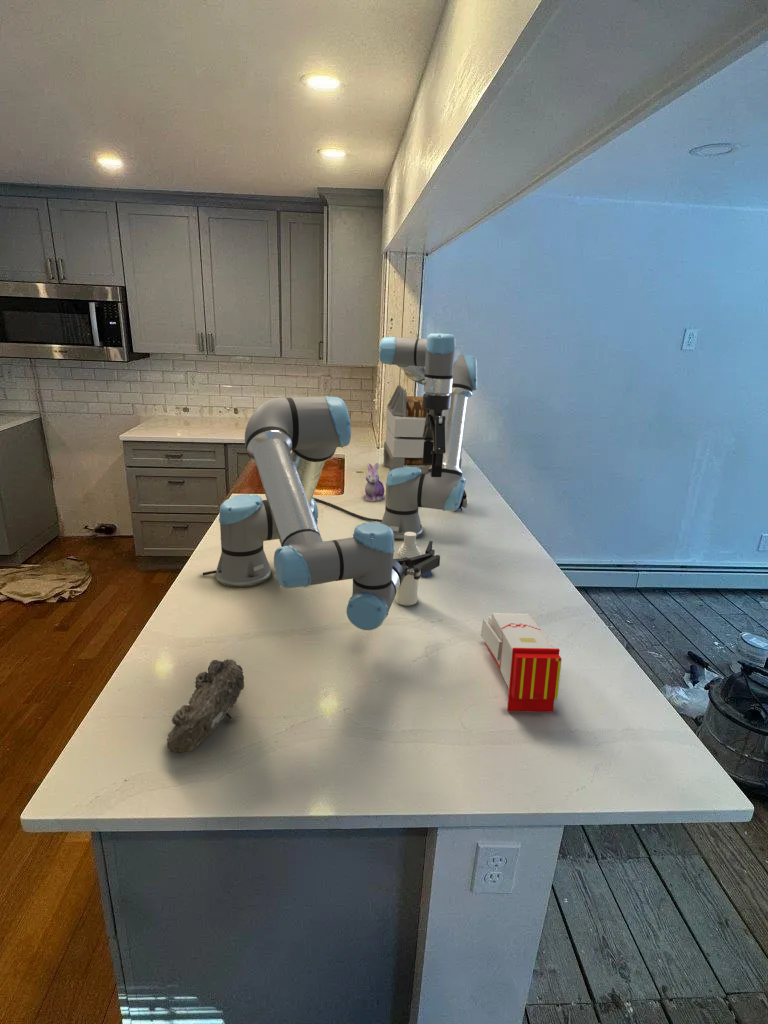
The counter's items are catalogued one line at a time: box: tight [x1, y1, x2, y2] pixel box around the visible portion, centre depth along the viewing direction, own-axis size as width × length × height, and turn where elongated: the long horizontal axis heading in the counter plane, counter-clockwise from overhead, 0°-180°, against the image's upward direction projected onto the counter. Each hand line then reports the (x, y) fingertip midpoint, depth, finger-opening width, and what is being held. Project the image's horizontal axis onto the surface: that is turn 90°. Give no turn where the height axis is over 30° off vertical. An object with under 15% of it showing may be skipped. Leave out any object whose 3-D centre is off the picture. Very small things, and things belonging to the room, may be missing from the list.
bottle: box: [394, 532, 421, 607], centre depth 151 cm, size 6×6×20 cm
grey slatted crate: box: [383, 384, 465, 472], centre depth 268 cm, size 34×33×41 cm
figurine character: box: [453, 489, 468, 512], centre depth 228 cm, size 7×8×15 cm
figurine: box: [364, 462, 385, 502], centre depth 233 cm, size 9×10×15 cm
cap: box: [420, 570, 432, 578], centre depth 170 cm, size 4×4×2 cm
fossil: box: [166, 658, 245, 754], centre depth 106 cm, size 22×10×15 cm
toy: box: [480, 612, 562, 713], centre depth 124 cm, size 12×13×30 cm
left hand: (403, 542), depth 139 cm, fingers open, 13 cm apart
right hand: (431, 470), depth 160 cm, fingers open, 13 cm apart
